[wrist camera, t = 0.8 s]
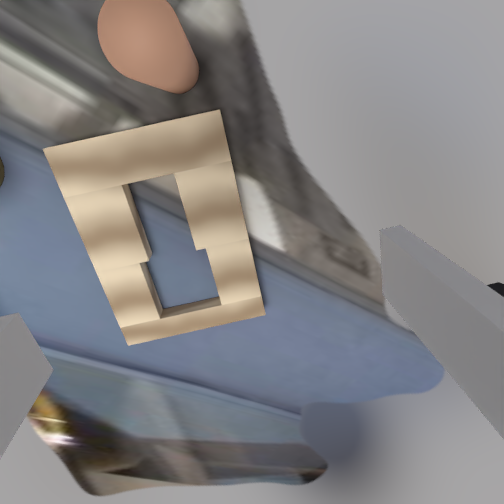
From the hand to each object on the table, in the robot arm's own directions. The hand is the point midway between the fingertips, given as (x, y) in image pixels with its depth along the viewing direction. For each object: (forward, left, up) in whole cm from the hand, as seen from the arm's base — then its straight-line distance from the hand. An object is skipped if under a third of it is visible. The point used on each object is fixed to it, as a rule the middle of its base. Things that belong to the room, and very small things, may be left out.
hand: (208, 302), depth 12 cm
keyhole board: (+5, -6, -24) cm, 25 cm away
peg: (-10, -1, -24) cm, 26 cm away
